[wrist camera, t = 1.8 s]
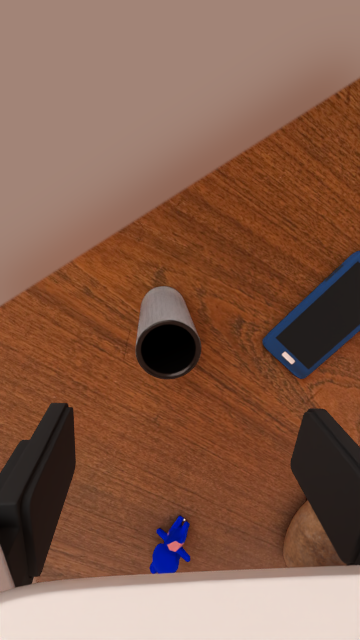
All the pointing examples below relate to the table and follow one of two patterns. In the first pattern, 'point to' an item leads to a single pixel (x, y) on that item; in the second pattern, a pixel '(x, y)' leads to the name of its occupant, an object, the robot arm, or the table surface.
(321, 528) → the bread
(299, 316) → the cell phone
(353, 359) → the table surface
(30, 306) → the table surface
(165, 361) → the planter
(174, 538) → the figurine
